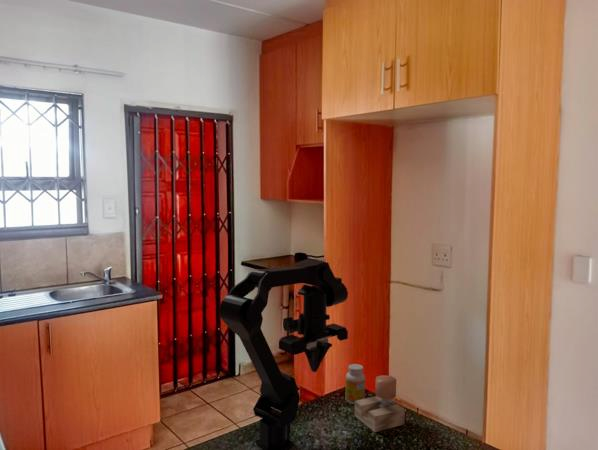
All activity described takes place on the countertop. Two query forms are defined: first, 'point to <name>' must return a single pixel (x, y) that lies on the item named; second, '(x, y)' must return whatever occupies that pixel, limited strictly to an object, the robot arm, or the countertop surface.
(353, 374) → the supplement bottle
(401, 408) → the knob track
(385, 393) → the knob
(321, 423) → the countertop surface
